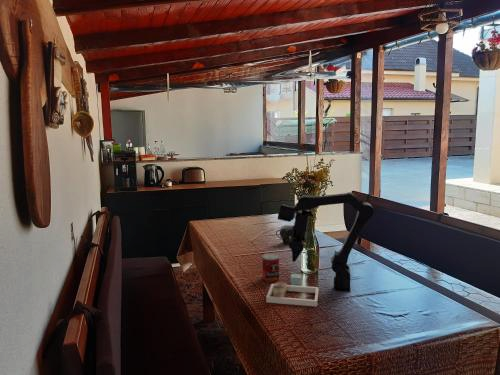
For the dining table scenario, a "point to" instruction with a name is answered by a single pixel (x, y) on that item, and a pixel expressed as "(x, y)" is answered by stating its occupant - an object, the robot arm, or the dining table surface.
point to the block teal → (296, 279)
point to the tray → (294, 300)
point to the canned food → (271, 267)
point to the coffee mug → (285, 239)
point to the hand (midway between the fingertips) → (294, 258)
